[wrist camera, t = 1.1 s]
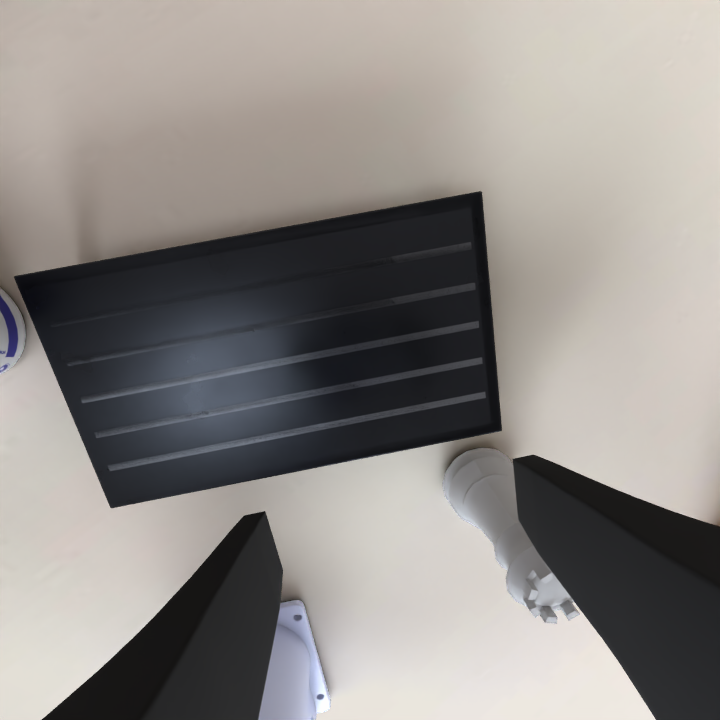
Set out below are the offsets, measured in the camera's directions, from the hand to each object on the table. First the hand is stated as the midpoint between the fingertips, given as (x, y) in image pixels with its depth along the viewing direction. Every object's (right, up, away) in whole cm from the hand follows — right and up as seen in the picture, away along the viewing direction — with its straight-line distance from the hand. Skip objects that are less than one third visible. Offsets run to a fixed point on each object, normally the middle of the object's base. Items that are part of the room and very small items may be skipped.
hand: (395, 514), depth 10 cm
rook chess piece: (+6, -3, +11) cm, 13 cm away
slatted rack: (-5, +5, +8) cm, 11 cm away
